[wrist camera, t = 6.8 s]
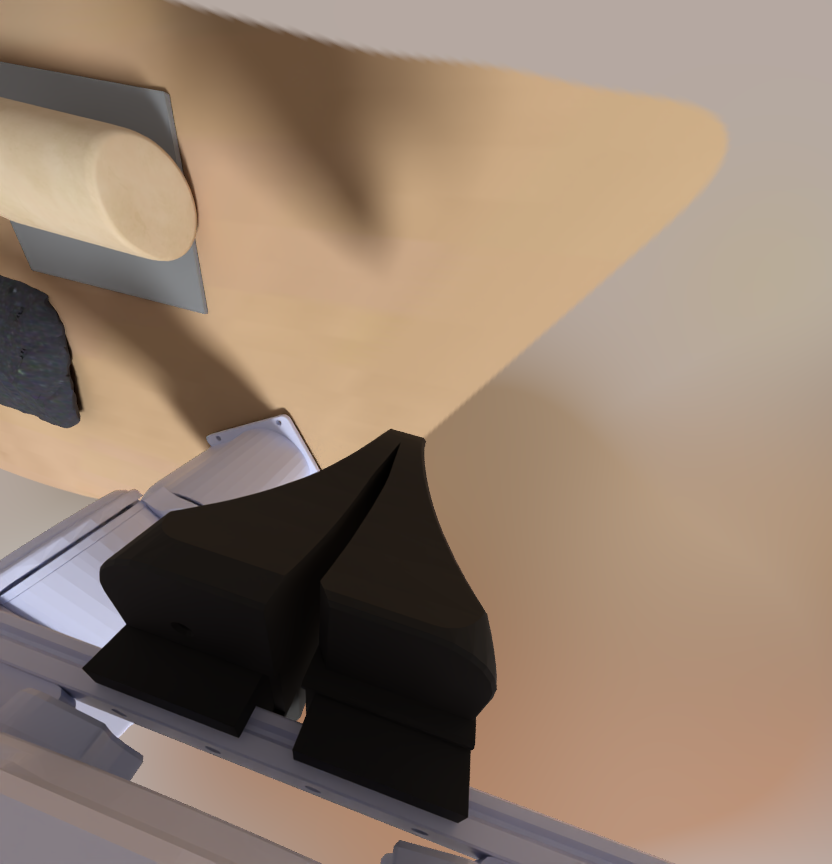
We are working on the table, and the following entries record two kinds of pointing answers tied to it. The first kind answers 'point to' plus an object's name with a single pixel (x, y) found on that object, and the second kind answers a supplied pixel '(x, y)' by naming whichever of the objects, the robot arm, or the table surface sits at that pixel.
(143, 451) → the table surface
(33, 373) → the dark slate chunk
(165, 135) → the slate mat
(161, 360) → the table surface
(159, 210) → the candle
